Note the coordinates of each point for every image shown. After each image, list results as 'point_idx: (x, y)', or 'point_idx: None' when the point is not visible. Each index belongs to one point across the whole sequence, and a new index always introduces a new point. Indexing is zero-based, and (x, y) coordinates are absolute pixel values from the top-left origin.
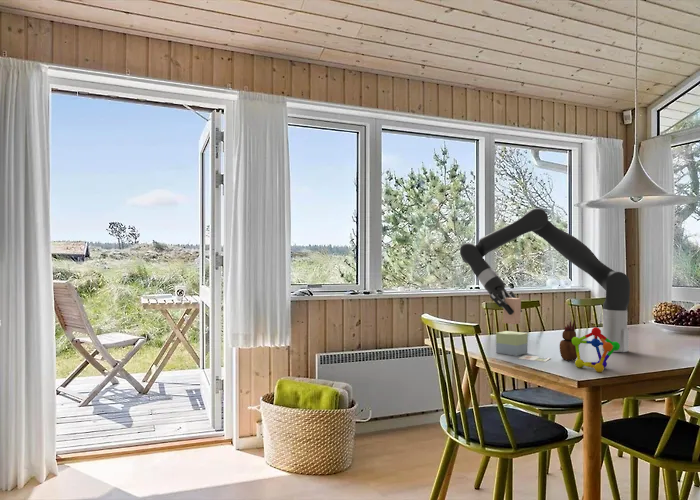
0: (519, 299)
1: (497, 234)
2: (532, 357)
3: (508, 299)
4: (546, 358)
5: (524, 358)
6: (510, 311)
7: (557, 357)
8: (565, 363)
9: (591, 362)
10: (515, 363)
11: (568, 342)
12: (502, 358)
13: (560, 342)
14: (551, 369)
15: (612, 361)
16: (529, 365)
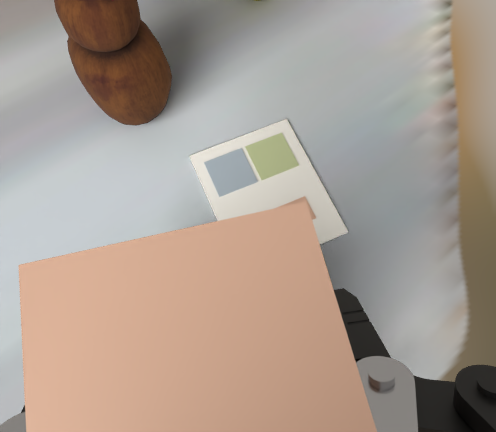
0: (98, 256)
1: None
2: (259, 210)
3: (352, 367)
4: (221, 155)
5: (322, 211)
6: (346, 298)
7: (124, 163)
8: (228, 64)
9: None
10: (450, 162)
11: (142, 24)
12: (423, 282)
13: (145, 69)
14: (390, 22)
15: (5, 6)
16: (418, 106)
